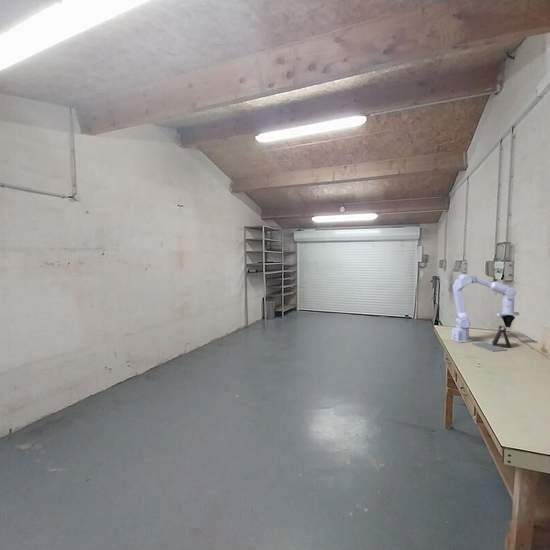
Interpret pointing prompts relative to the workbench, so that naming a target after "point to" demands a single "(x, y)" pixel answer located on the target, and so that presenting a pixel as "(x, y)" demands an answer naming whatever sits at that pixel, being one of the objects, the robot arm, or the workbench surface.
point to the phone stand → (495, 341)
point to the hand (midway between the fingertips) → (507, 327)
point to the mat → (489, 346)
